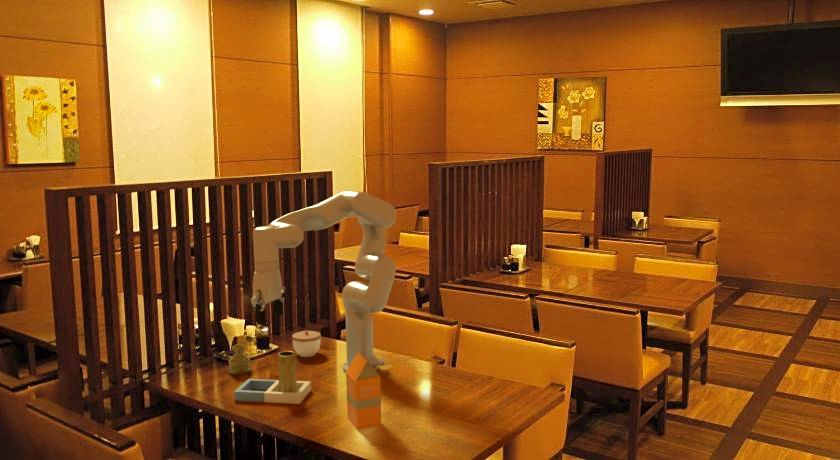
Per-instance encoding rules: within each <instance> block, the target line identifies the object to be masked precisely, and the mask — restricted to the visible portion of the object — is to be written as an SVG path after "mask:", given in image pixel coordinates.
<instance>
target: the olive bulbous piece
mask: <svg viewBox="0 0 840 460" xmlns="http://www.w3.org/2000/svg"><path fill="white" fill-rule="evenodd" d="M246 349H247V346H246V345H244V344H241V343H236V344H234V345H232V346H231V351H233V352H234V354H233V356H232V357H231V358H229V360H228V365H229V366H228V369H229V373H230V374H232V375H236V376H237V375H239V376H240V375H245V374H248V373H249V372H250V371H251V364H250V362H251V358H250V357H249V356H247V355H246V354H245V353H244V351H245V350H246Z"/></svg>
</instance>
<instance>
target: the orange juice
mask: <svg viewBox="0 0 840 460" xmlns="http://www.w3.org/2000/svg"><path fill="white" fill-rule="evenodd" d="M345 378H346V379H345V381H346V405H347V406H346V408H347V410H346V412H347V413H346V414H347V416H346V417H347V420H348V421H349V422H350V423H351V424H352V426H353V427H354V428H355V429H356V430H362V429H363V430H364V429H367V428H372V427H378V426H382V394H381V393H382V392H381V389H382V387H381V376H380V374H379V373H378V372H377V370H375V369H374V368H373V367H372V366H371V364H370V363H369V362H368V361H367V360H366V359H365V358H364V357H363V356H362V355H361V354H360V353H359V352H358V353H357V355H356V357H355V358H354V360H353V362H352V363H351V365H350V367H349V368H348V370H347V371H346V372H345Z"/></svg>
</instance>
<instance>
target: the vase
mask: <svg viewBox="0 0 840 460" xmlns="http://www.w3.org/2000/svg"><path fill="white" fill-rule="evenodd" d="M277 357H278V380H279V392H291V393H296V392H297V382H296V381H297V373H296V371H297V370H296V352H294V351H292V350H285V351H284V350H283V351H281V352H278V354H277Z"/></svg>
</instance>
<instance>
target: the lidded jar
mask: <svg viewBox="0 0 840 460" xmlns="http://www.w3.org/2000/svg"><path fill="white" fill-rule="evenodd" d="M321 337H322V334H321V332H319V331H315V330H307V329H305V330H301V331H298V332H295V333H293V334H292V335H291V338H292V346H293V349H294V351H295V353H297V354H298V356H299V357H303V358H310V357H314V356H316V353H318V352H319V349H320V347H321V344H322V343H321V342H322V341H321Z"/></svg>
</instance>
